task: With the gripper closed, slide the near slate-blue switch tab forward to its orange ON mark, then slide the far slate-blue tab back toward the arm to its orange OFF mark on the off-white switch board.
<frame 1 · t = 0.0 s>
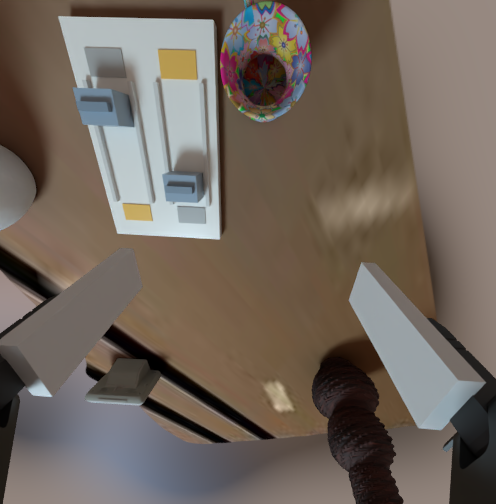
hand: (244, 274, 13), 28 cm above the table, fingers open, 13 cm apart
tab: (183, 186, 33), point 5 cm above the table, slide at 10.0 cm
mug: (261, 77, 30), on the table
switch board: (160, 149, 35), on the table
digital clock: (136, 366, 64), on the table
vase: (334, 365, 59), on the table
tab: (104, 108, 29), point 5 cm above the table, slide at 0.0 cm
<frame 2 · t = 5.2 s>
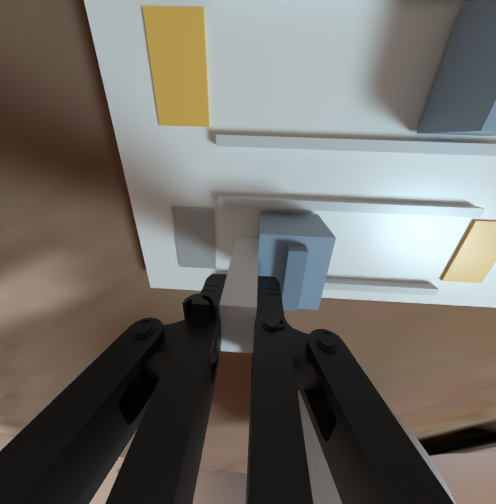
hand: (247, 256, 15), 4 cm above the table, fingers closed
switch board: (340, 172, 15), on the table
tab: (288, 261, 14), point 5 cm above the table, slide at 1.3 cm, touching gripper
pitcher: (311, 410, 31), on the table
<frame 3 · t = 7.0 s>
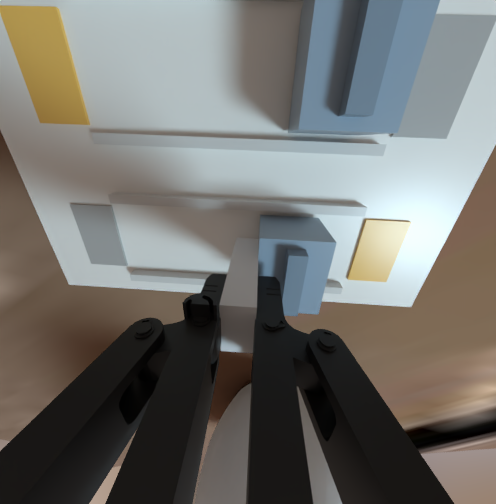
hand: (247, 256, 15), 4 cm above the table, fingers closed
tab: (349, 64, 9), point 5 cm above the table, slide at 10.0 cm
switch board: (239, 171, 16), on the table
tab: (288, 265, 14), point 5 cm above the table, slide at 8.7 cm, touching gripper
pitcher: (260, 410, 31), on the table
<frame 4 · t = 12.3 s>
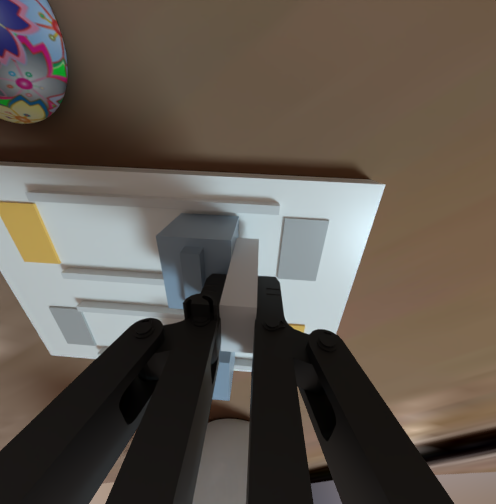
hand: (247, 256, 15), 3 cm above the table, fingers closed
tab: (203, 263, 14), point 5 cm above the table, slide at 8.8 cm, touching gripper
switch board: (179, 280, 20), on the table
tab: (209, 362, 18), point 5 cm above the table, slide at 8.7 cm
pitcher: (223, 441, 36), on the table
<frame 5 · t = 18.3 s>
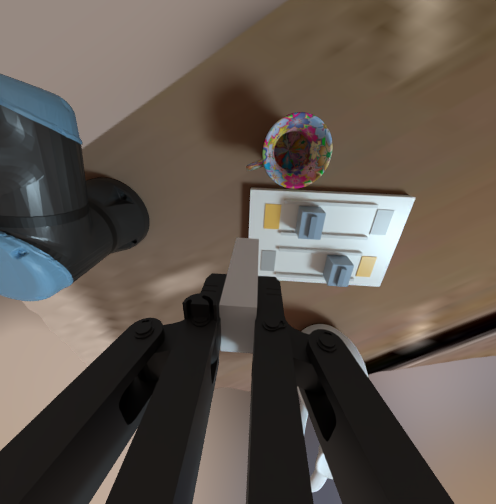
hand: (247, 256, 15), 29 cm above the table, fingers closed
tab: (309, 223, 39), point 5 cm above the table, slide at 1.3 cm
mug: (280, 152, 38), on the table
switch board: (318, 238, 45), on the table
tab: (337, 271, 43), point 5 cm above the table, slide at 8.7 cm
pitcher: (309, 343, 61), on the table
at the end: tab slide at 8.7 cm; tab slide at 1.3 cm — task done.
